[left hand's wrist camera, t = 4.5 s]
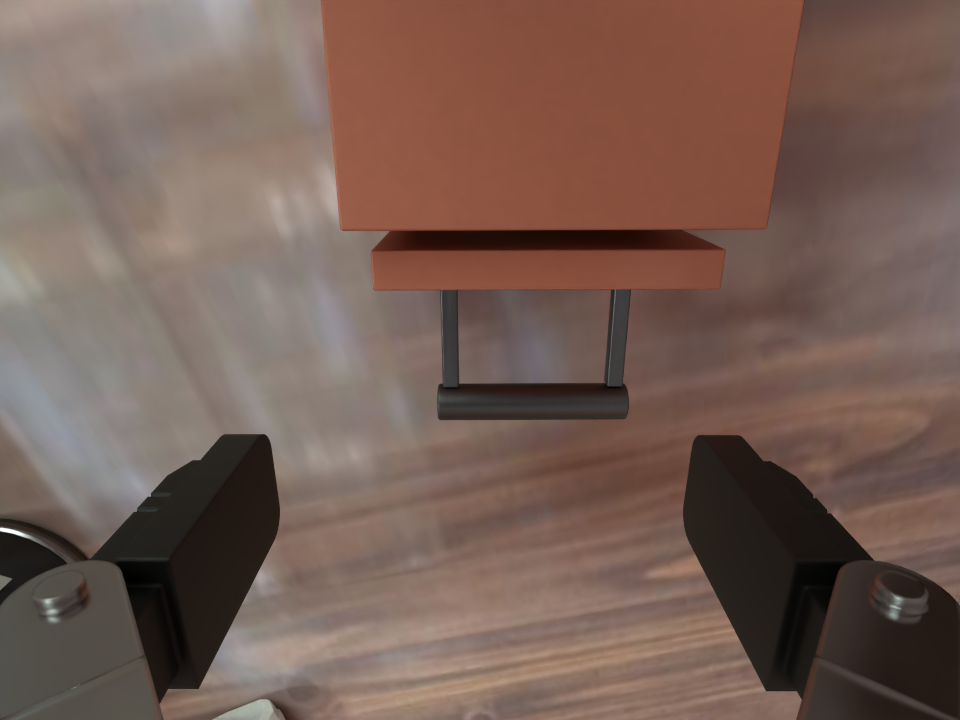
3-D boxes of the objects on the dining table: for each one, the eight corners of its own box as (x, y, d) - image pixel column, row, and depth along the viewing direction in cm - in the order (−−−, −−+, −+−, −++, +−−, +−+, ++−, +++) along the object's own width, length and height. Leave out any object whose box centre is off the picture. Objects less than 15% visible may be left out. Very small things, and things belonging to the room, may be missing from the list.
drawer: (628, 364, 28) (695, 465, 20) (413, 365, 28) (385, 467, 20) (689, -307, 20) (857, -659, 11) (382, -307, 20) (308, -658, 11)
